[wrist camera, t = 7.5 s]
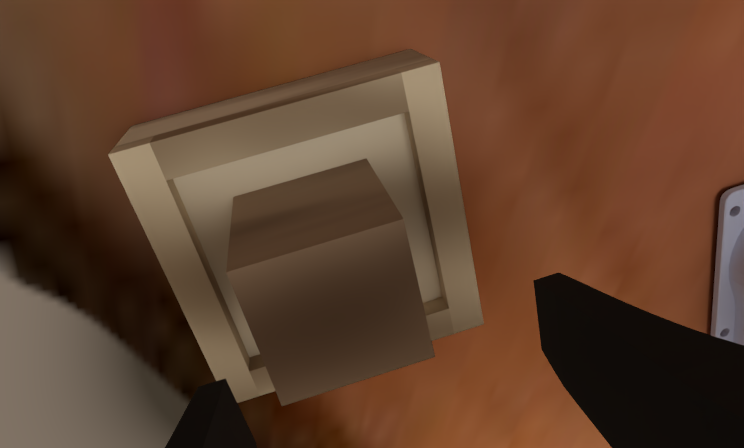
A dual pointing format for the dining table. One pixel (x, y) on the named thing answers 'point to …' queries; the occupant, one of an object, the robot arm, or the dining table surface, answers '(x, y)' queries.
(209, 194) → the beech base
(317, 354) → the walnut block
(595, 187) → the dining table surface
